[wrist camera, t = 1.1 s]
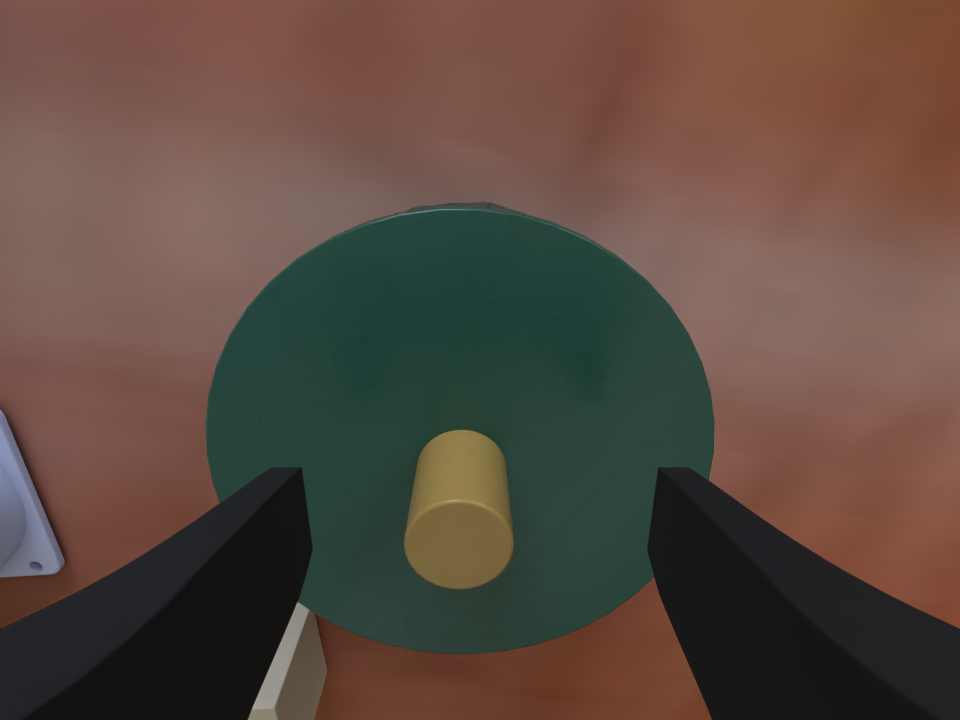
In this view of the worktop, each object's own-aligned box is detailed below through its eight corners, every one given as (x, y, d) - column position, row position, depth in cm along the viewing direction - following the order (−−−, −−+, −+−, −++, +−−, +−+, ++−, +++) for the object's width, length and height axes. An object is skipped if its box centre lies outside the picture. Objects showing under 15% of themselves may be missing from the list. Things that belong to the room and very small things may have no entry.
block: (238, 675, 27) (186, 791, 22) (217, 606, 25) (156, 714, 21) (328, 670, 27) (296, 785, 22) (312, 600, 25) (274, 707, 21)
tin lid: (274, 638, 19) (219, 773, 14) (166, 222, 14) (38, 254, 10) (683, 614, 18) (741, 745, 14) (720, 185, 13) (825, 201, 9)
